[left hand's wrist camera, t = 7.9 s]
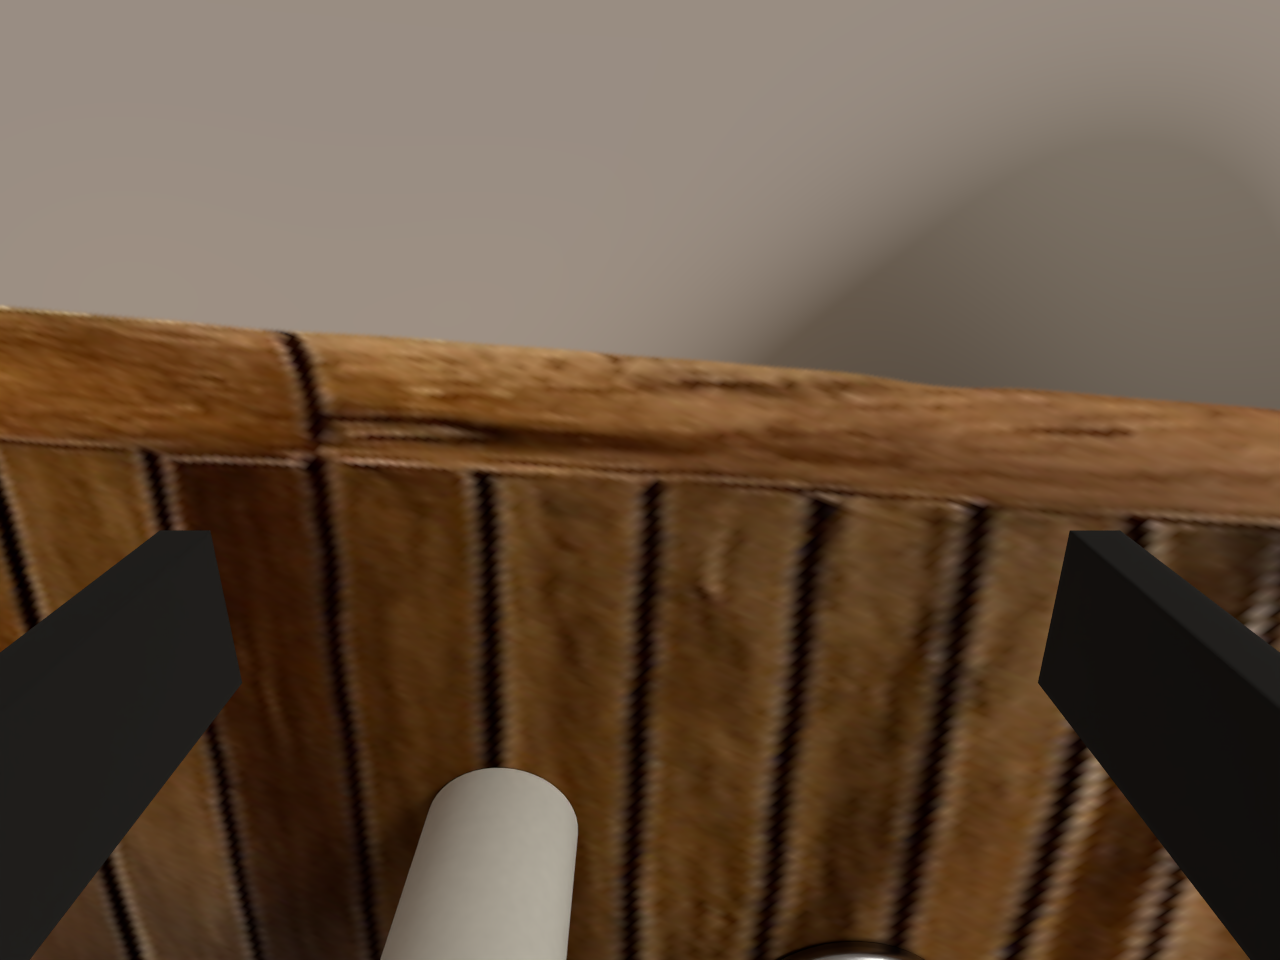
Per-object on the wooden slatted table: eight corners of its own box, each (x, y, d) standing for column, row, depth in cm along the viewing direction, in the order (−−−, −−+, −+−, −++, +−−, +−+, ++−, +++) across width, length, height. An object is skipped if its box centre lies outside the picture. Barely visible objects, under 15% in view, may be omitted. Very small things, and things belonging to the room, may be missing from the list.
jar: (603, 801, 49) (586, 1104, 34) (540, 902, 52) (497, 1224, 37) (462, 745, 48) (373, 1034, 32) (405, 853, 51) (298, 1166, 35)
